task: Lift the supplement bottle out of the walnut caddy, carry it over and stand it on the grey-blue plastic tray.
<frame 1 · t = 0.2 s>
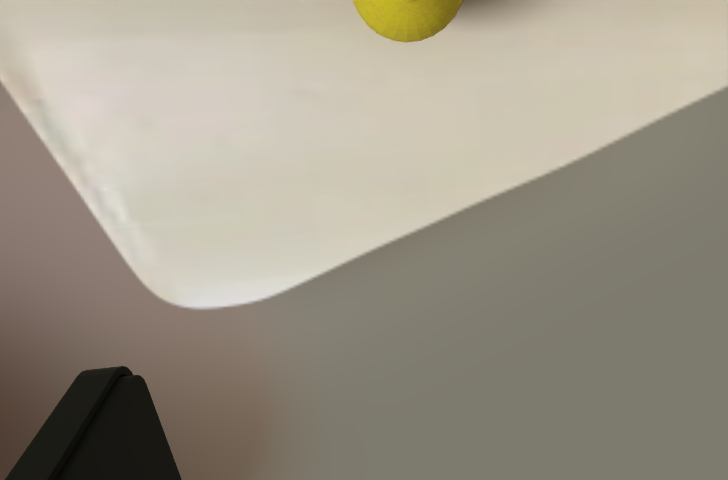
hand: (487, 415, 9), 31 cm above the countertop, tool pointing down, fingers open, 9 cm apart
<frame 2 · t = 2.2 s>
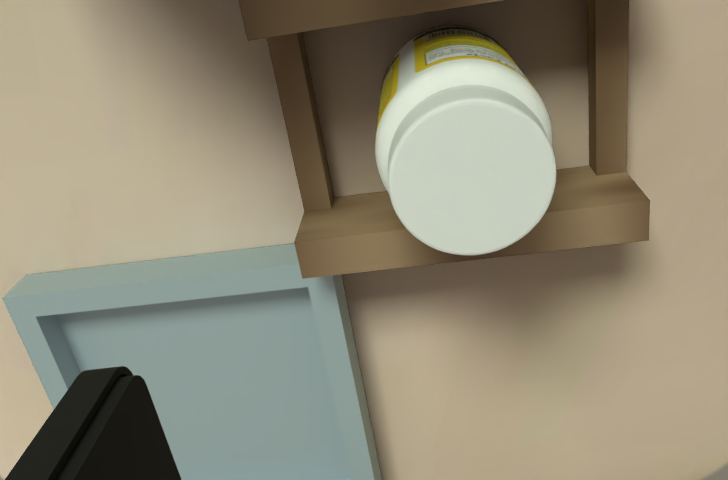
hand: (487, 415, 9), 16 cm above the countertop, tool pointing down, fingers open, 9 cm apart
caddy: (449, 94, 23), on the countertop
supplement bottle: (449, 92, 23), resting in caddy
tray: (216, 385, 29), on the countertop
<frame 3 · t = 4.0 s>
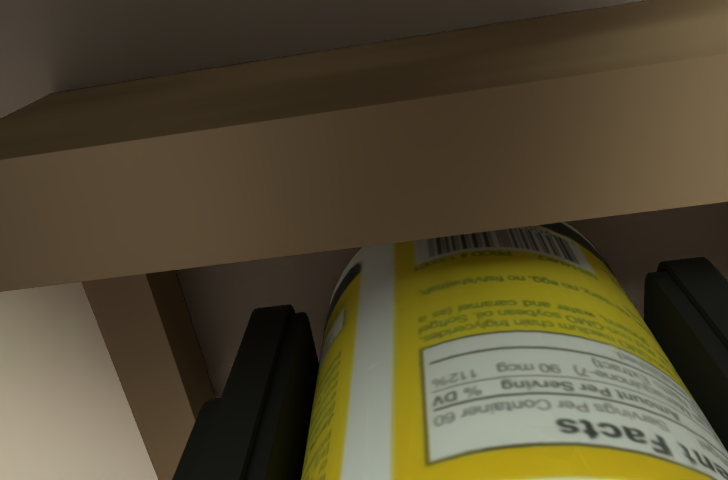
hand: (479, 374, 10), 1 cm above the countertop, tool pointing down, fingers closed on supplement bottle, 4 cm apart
caddy: (471, 321, 11), on the countertop
supplement bottle: (469, 314, 11), resting in caddy, touching gripper
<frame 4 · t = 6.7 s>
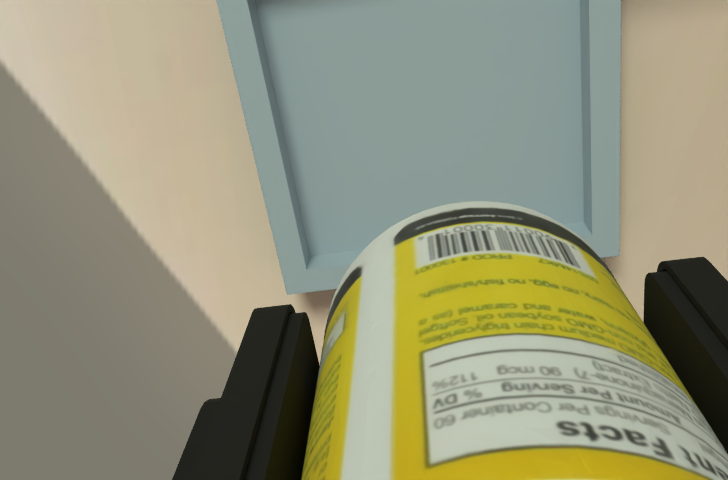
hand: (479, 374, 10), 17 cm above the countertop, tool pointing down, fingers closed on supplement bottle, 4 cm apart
supplement bottle: (470, 319, 11), point 15 cm above the countertop, touching gripper
tray: (427, 101, 25), on the countertop
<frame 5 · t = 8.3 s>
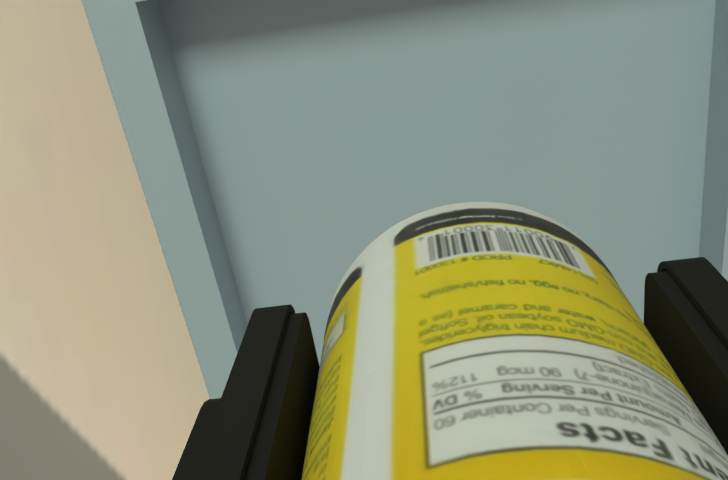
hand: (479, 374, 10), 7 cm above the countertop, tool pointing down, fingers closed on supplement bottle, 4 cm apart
supplement bottle: (470, 319, 11), point 5 cm above the countertop, touching gripper
tray: (452, 197, 16), on the countertop
when the fingers open (3 cm above the countertop, at t = 9.4 s): supplement bottle drops 1 cm, resting on tray.
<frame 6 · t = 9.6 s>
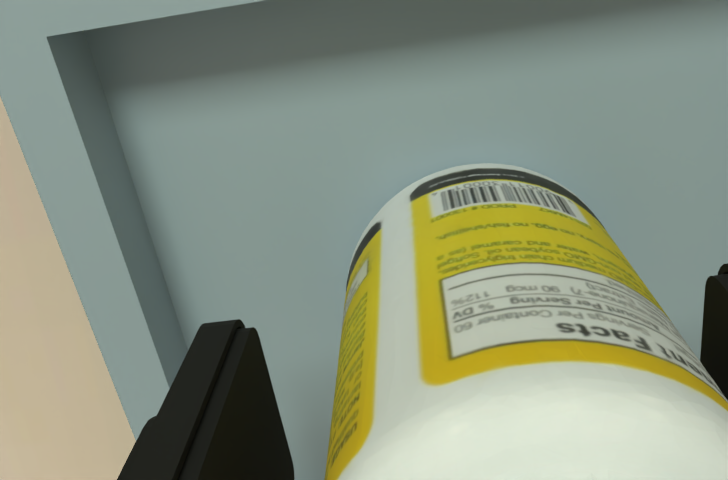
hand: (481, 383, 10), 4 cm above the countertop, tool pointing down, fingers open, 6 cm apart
supplement bottle: (476, 273, 12), resting on tray
tray: (458, 268, 13), on the countertop
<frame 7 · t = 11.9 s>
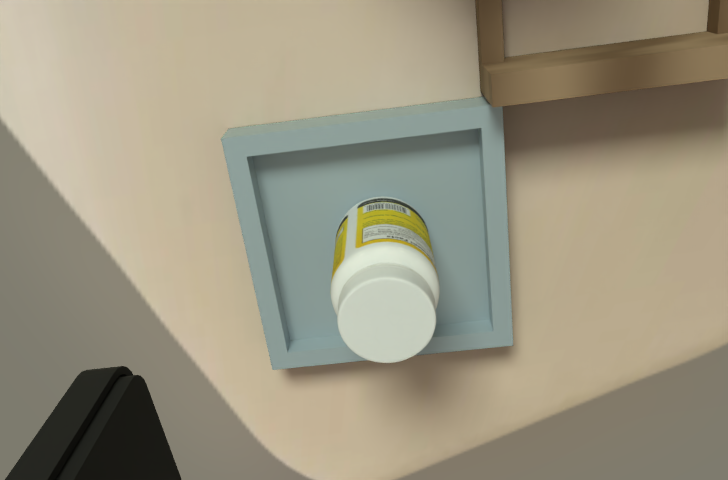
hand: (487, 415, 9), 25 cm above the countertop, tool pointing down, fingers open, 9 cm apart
supplement bottle: (382, 235, 34), resting on tray
tray: (376, 234, 35), on the countertop
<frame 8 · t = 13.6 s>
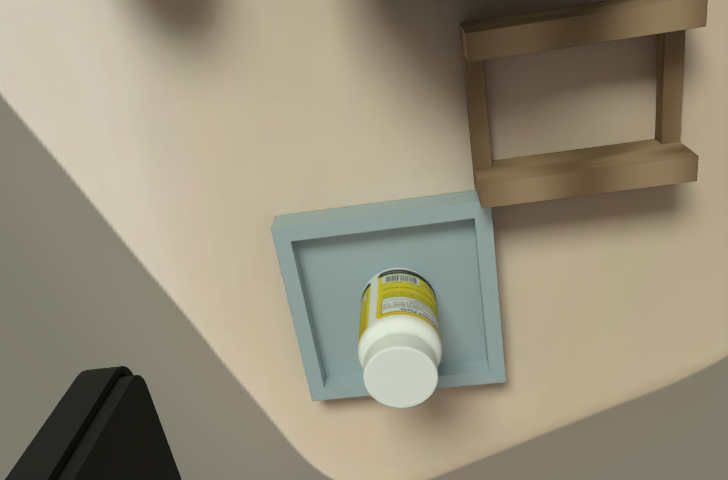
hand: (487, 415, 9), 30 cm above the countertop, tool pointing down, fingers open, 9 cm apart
caddy: (569, 94, 37), on the countertop
supplement bottle: (398, 296, 43), resting on tray
tray: (394, 294, 43), on the countertop
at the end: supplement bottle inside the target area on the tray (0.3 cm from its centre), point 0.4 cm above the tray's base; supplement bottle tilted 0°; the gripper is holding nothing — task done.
